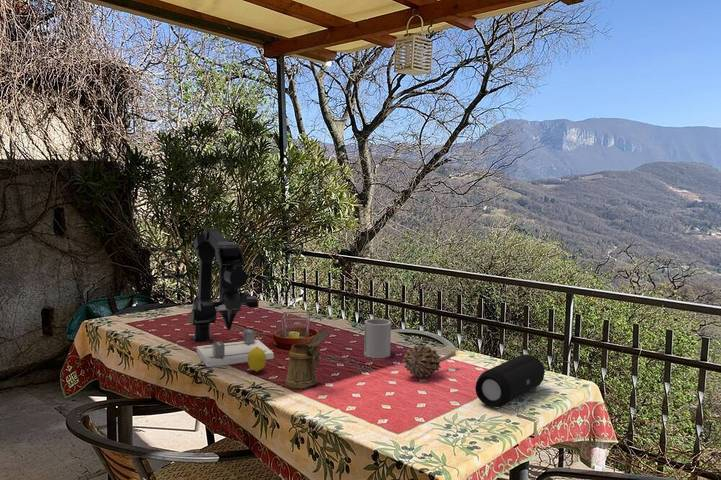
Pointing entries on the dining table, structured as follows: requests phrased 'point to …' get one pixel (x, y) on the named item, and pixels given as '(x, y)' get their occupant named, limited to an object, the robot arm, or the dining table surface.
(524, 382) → the portable speaker
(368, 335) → the cup
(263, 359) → the lemon
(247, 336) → the fader
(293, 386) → the wooden mug
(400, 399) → the dining table surface
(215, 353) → the fader
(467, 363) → the dining table surface
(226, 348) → the slotted white panel
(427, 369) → the pine cone
